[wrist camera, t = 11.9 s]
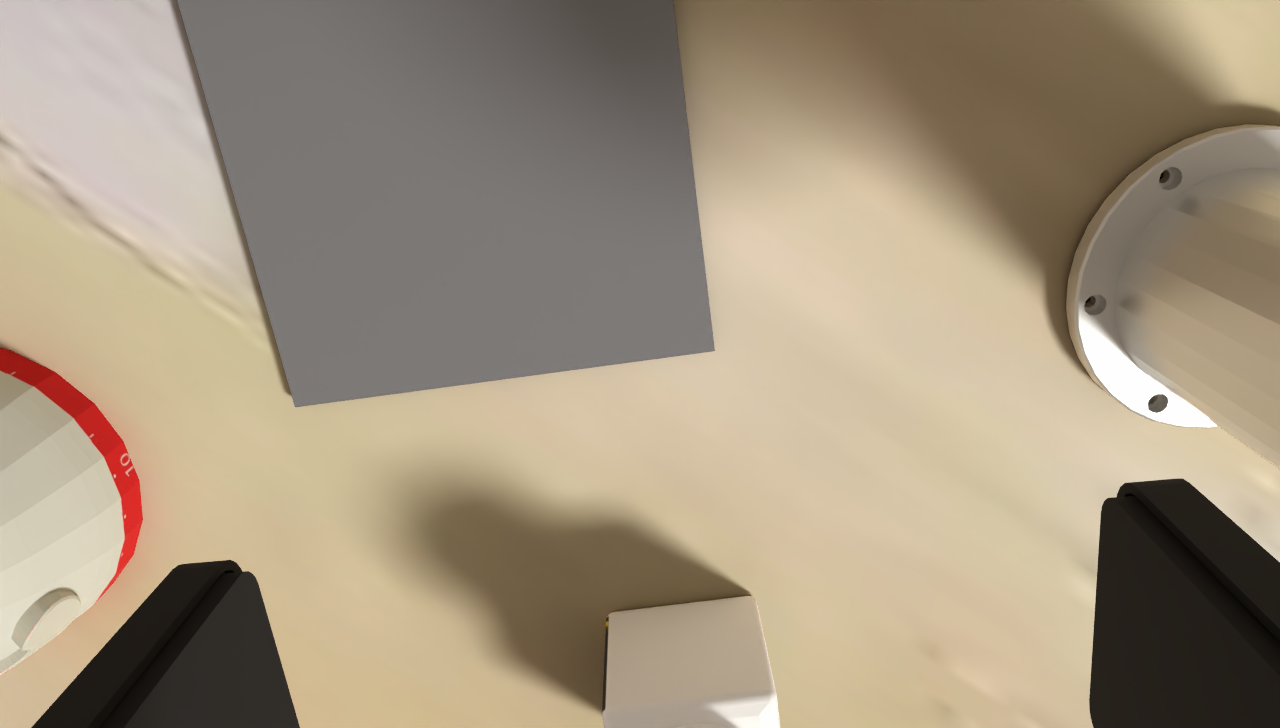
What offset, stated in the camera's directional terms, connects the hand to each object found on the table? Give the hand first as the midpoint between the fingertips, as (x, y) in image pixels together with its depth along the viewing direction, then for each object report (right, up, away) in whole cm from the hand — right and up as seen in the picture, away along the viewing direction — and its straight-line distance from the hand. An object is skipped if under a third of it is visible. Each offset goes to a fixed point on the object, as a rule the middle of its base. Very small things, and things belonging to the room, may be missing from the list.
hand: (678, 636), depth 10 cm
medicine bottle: (+2, -11, +36) cm, 37 cm away
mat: (-7, +11, +27) cm, 30 cm away
